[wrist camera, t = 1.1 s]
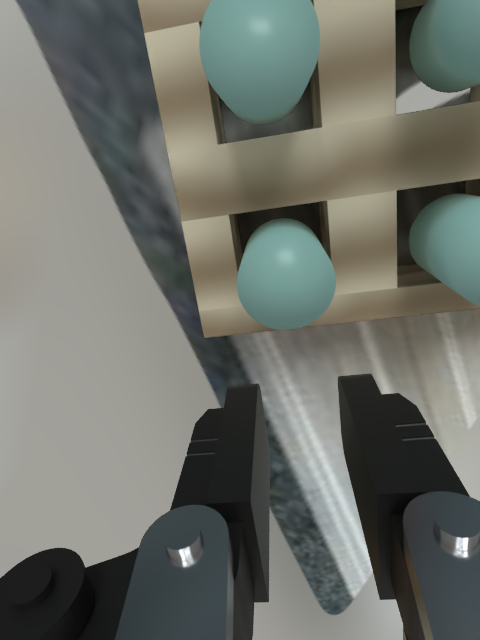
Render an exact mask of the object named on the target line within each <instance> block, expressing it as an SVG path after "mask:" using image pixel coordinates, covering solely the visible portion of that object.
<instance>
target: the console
mask: <svg viewBox="0 0 480 640" xmlns="http://www.w3.org/2000/svg"><path fill="white" fill-rule="evenodd" d="M427 1H428V0H311V2H312V4H313V6H314V9H315V12H316V14H317V18H318V22H319V29H320V48H319V55H318V59H317V63H316V66H315V69H314V71H313V74H312V76H311V78H310V90H311V104H312V117H313V129H309V130H303V131H297V132H291V133H285V134H279V135H273V136H267V137H261V138H255V139H249V140H243V141H237V142H231V143H226V139H225V132H224V126H223V119H222V112H221V105H220V98H219V95H218V94H217V93H216V91H215V90H214V89H213V87H212V86H211V84H210V83H209V81H208V79H207V77H206V75H205V72H204V69H203V66H202V62H201V57H200V48H199V39H200V30H201V25H202V21H203V18H204V15H205V12H206V10H207V8H208V6H209V4H210V2H211V0H138V4H139V9H140V14H141V19H142V25H143V30H144V35H145V40H146V45H147V50H148V55H149V60H150V65H151V70H152V75H153V80H154V85H155V90H156V96H157V101H158V106H159V111H160V116H161V121H162V126H163V131H164V136H165V141H166V146H167V151H168V156H169V161H170V167H171V172H172V177H173V182H174V187H175V192H176V197H177V202H178V207H179V212H180V217H181V222H182V227H183V232H184V238H185V243H186V248H187V253H188V258H189V263H190V268H191V273H192V278H193V283H194V288H195V293H196V298H197V303H198V309H199V314H200V319H201V324H202V329H203V334H204V338H207V337H216V336H226V335H235V334H244V333H254V332H263V331H272V330H277V329H272V328H269V327H266V326H264V325H262V324H260V323H259V322H257V321H256V320H254V319H253V318H252V317H251V316H250V315H249V314H248V313H247V312H246V310H245V309H244V307H243V306H242V304H241V302H240V299H239V296H238V292H237V276H238V271H239V268H240V264H241V261H242V258H243V254H242V248H241V241H240V234H239V227H238V220H237V214H238V213H245V212H252V211H258V210H265V209H272V208H279V207H286V206H293V205H300V204H307V203H314V202H319V211H320V224H321V237H322V247H323V248H324V250H325V252H326V253H327V255H328V257H329V259H330V260H331V262H332V265H333V267H334V271H335V276H336V287H335V293H334V296H333V299H332V301H331V303H330V305H329V307H328V308H327V310H326V311H325V312H324V313H323V314H322V315H321V316H320V317H319V318H318V319H317V320H315V321H314V322H312V323H311V324H309V325H307V326H304V327H310V326H319V325H328V324H338V323H347V322H356V321H366V320H375V319H384V318H394V317H403V316H412V315H422V314H431V313H440V312H450V311H459V310H468V309H478V308H480V306H479V305H476V304H473V303H471V302H469V301H468V300H466V299H465V298H464V297H462V296H461V295H459V294H458V293H456V292H455V291H454V290H452V289H451V288H449V287H448V286H447V285H445V284H444V283H442V282H441V281H440V280H438V279H437V278H435V277H434V276H433V275H431V274H430V273H428V272H427V271H426V270H424V269H423V268H421V267H420V266H419V265H418V264H411V265H403V266H397V190H404V189H410V188H417V187H424V186H431V185H438V184H445V183H452V182H459V181H466V187H465V194H468V195H474V196H480V84H479V85H476V86H473V87H471V90H470V103H464V104H458V105H452V106H446V107H440V108H434V109H428V110H422V111H417V112H411V113H405V114H399V115H396V52H395V11H396V10H401V9H406V8H411V7H416V6H421V5H425V3H426V2H427Z"/></svg>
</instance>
